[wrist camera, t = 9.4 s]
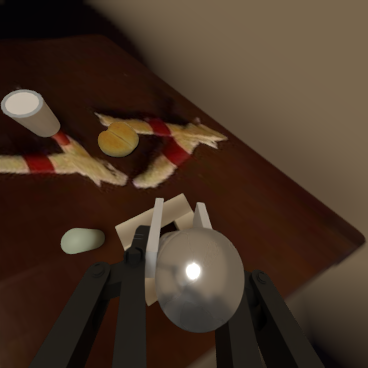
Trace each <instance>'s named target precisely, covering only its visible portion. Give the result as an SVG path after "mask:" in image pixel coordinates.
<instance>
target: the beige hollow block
mask: <svg viewBox="0 0 368 368" xmlns="http://www.w3.org/2000/svg"><path fill="white" fill-rule="evenodd" d="M153 212H154V208H152V209H150V210H148V211H146V212H144V213H142V214H140V215H138V216H136V217H134V218H132V219H130V220H128V221H126V222H124V223H122V224H120V225H118V226H116V227H115V228H116V230H117V233H118V235H119V237H120V240H121V242H122V245H123V247H124V249H125V251H126V249H127V248H129V247H131V244H132V241H133V237H134V234H135V231H136V229H137V227H138V226H139V225H147V226H151V223H152V217H153ZM193 218H194V213H193V211H192V209H191V207H190V206H189V204H188V202H187V200H186V198H185V196H184V195H183V194H181V195H179V196H177V197H175V198H172V199H170V200H168V201H166V202H164V203H163V209H162V218H161V227H160V228H162V227H164V226H166V225H168V224H169V223H171V222H174V224H175V226H176V228H177V230H178V231H179V230H184V229H189V228H193V223H192V222H193ZM145 299H146V302H147V304H148V306H150V305H151V304H153V303H154V302H155V301H157V300H158V299H157V295H156V291H155V277H154V278H145Z"/></svg>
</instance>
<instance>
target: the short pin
mask: <svg viewBox="0 0 368 368" xmlns="http://www.w3.org/2000/svg"><path fill="white" fill-rule="evenodd" d="M104 240H105V235H104V233H103V232H102V231H101V230H95V229H81V228H75V229H71V230H69V231H68V232H67V233H66V234H65V235H64V236H63V238H62V240H61V247H62V249H63V250H64V251H65V252H66V253H69V254H75V253H79V252H83V251H87V250H92V249H96V248H99V247H100V246H101V245H102V244H103V243H104Z"/></svg>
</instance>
